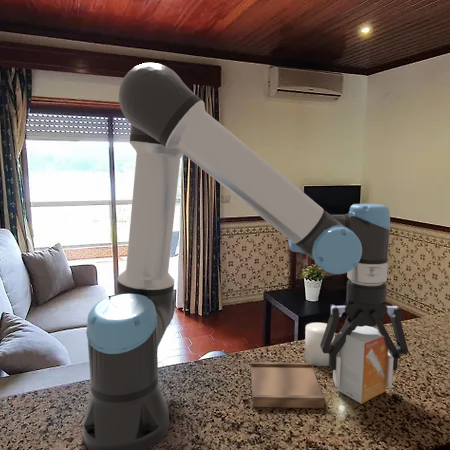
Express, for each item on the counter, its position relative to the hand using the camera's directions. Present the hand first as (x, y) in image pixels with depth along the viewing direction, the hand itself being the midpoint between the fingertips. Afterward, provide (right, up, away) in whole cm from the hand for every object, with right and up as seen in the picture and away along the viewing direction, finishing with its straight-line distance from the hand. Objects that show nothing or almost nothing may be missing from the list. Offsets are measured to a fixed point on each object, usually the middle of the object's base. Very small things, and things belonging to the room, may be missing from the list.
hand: (361, 383), depth 82 cm
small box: (0, -2, 0) cm, 2 cm away
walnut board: (-16, -2, +2) cm, 16 cm away
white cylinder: (-5, 0, +16) cm, 16 cm away
